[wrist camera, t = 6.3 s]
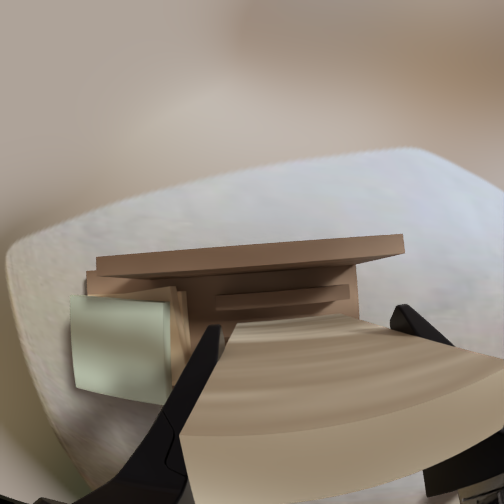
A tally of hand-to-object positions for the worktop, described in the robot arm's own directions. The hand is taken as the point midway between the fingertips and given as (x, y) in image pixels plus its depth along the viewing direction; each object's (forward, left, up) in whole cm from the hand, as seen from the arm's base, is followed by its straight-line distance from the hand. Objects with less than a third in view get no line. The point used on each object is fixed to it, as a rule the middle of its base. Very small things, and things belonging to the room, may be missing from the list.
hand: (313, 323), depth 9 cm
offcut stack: (+5, +10, -12) cm, 16 cm away
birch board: (-1, +1, -7) cm, 7 cm away
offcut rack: (+1, +5, -13) cm, 14 cm away
